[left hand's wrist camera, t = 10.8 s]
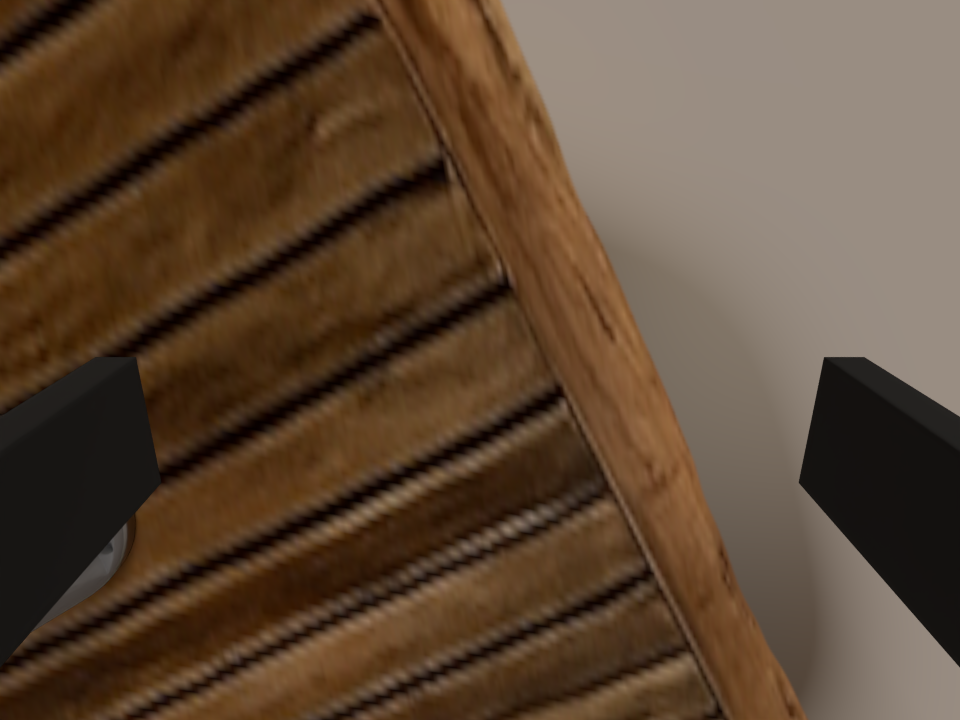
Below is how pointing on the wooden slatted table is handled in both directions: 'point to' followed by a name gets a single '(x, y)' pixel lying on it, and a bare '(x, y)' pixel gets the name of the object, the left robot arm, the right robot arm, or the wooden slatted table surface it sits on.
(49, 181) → the wooden slatted table surface
